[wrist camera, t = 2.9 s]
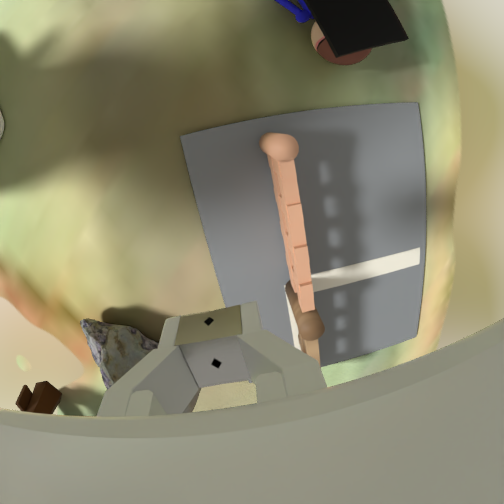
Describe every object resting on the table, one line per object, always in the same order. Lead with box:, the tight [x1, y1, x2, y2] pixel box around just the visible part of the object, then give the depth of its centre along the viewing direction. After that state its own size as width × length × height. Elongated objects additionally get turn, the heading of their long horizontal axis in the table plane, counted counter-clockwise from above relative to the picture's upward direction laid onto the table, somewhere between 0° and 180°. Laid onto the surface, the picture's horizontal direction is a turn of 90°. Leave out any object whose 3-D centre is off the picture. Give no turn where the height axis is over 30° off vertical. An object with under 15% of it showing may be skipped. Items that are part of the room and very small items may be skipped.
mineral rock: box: [80, 319, 202, 413], centre depth 27 cm, size 13×11×10 cm
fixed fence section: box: [285, 280, 325, 368], centre depth 28 cm, size 12×2×7 cm, turn 11°
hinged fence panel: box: [259, 132, 315, 313], centre depth 23 cm, size 13×2×6 cm, turn 11°
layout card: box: [180, 102, 426, 383], centre depth 29 cm, size 28×22×1 cm
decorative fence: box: [16, 381, 62, 414], centre depth 33 cm, size 34×6×15 cm, turn 11°
